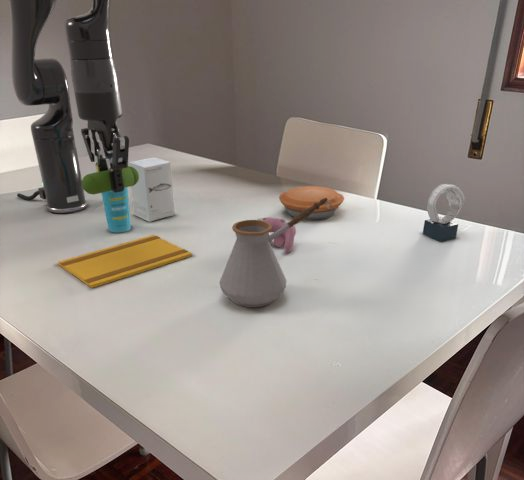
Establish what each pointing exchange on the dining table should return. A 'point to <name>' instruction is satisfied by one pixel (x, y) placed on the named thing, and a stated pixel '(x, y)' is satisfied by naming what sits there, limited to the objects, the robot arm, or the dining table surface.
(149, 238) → the towel
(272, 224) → the video game controller
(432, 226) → the ring sculpture on base
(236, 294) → the coffee pot
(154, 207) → the white packaging box
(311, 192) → the pie
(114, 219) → the tube
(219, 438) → the dining table surface
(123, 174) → the pickle
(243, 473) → the dining table surface
